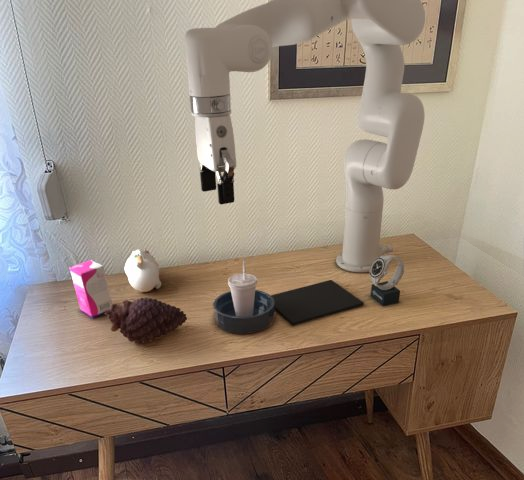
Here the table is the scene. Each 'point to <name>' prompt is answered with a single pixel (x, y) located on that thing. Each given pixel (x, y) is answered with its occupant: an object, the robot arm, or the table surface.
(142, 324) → the pine cone
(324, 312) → the mat
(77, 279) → the supplement box
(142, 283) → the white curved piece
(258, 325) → the dish
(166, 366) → the table surface
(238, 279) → the smoothie
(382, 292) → the watch
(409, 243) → the table surface
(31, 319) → the table surface
